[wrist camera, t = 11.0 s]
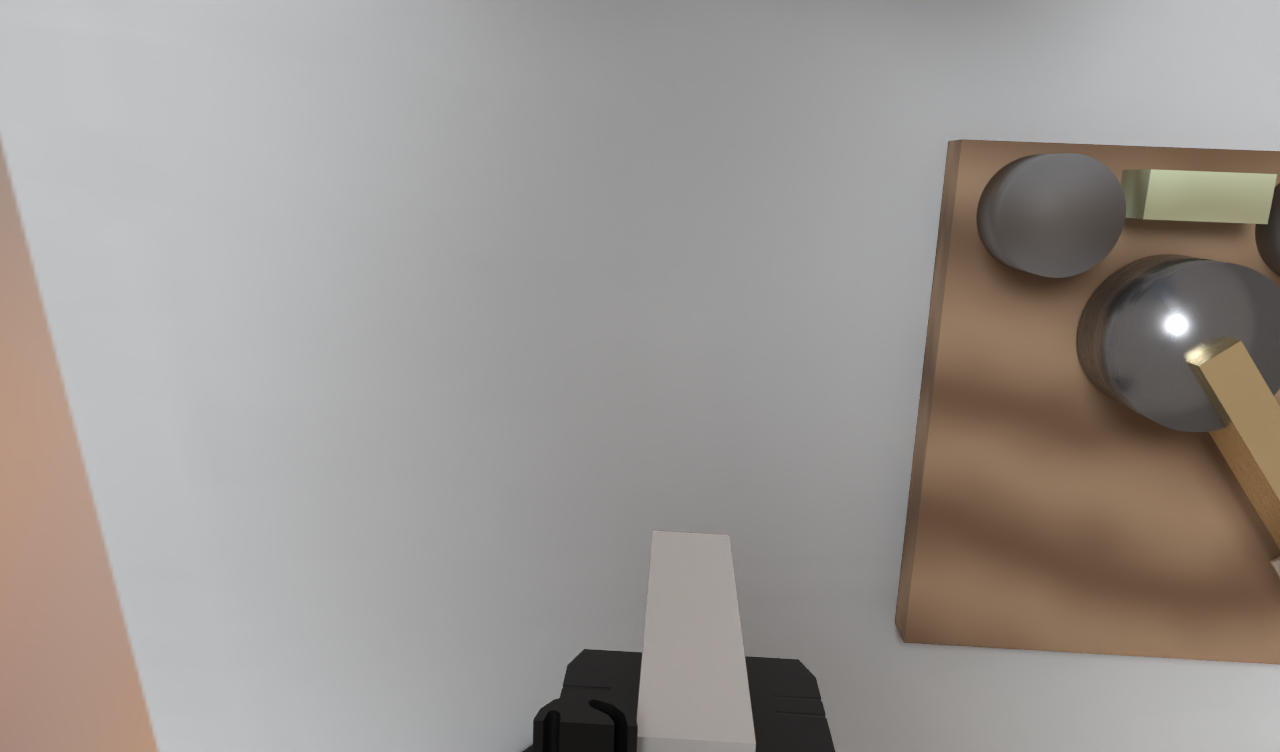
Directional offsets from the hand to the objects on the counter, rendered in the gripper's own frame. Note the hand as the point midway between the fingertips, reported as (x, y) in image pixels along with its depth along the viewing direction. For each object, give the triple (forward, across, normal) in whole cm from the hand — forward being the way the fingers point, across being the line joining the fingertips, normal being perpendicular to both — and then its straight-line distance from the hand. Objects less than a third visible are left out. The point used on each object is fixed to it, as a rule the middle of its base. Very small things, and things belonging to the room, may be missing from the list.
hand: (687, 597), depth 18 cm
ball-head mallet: (+24, +24, -2) cm, 34 cm away
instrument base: (+26, +21, -2) cm, 34 cm away
